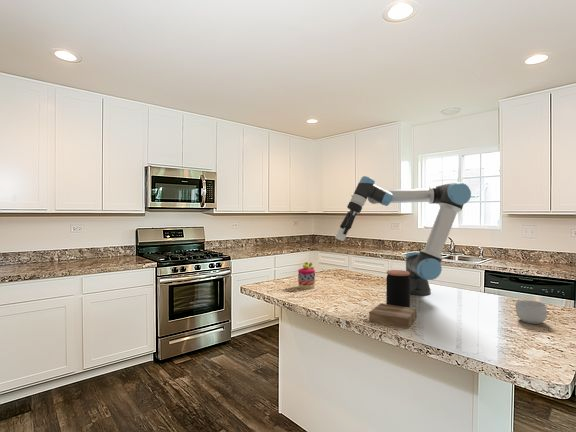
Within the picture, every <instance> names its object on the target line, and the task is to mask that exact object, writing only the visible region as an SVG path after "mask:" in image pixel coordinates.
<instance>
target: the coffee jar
mask: <svg viewBox="0 0 576 432" xmlns="http://www.w3.org/2000/svg"><path fill="white" fill-rule="evenodd" d="M386 274H387V275H386V293H385V294H386V303H385V304H388V305H395V306H402V307H408V308H411V294H410V277H409V275H410V272H408V271H406V270H402V269H401V270H400V269H390V270H389V269H388V270H386Z"/></svg>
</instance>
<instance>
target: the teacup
mask: <svg viewBox="0 0 576 432" xmlns="http://www.w3.org/2000/svg"><path fill="white" fill-rule="evenodd" d="M547 307H548V305H547V304H546V303H545V302H543V301H537V300H528V299H523V300H516V301H515V310H516V311H515V313H516V316H517V317H518V319H520V320H521V322H524V323H527V324H532V325H533V324H534V325H539V324H542V323H543V322H545V321H546V320H547V317H548V316H547V313H548V312H547V311H548V310H547Z"/></svg>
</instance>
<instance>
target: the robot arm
mask: <svg viewBox="0 0 576 432" xmlns="http://www.w3.org/2000/svg"><path fill="white" fill-rule="evenodd" d="M375 183H376V181H375V180H374V179H373V178H372V177H370V176H365V175H364V176H362V177H361V178H360V180H359V182H358V183H357V186H356V187H355V190H354V192H353V194H351V198H350V201H349V202H348V204H347V205H346V207H347V209H348V210H349V211H347V213H346V215H345V216H344V219H343V220H342V222H341V223H340V224H339V229H338V231H337V232H336V234H335V237H334V238H335V239H336V240H338V241H342V242H344V241H345V239H346V237H347V235H348V233H349V231H350V229H352V226H353V224H354V221H355V218H356V216H357V214H360V213H361V211H362V210H363V207H364V206H365V204H366V201H368V202H369V203H370V204H373V205H376V204H381V205H382V206H385V207H388V206H389V205H390V204H393V203H394V204H398V203H399V204H400V203H406V204H407V203H429V204H438V205H439V210H438V213H437V215H436V217H435V220H434V223H433V225H432V229H431V230H430V234H429V236H428V238H427V241H426V243H425V246H424V248H422V249H421V250H420V251H418V252H416V251H415V252H406V255H405V271H408V272H410V275H409V277H410V295H416V296H427V295H431V294H432V292H431V290H432V289H431V287H430V283H429V281H433V280H435V279H437V278H438V277H440V275H441V273H442V271H443V269H442V268H443V267H442V261H443V258H442V257H443V256H442V252H443V249H444V247H445V244H446V242H447V240H448V237H449V235H450V232H451V229H452V227H453V224H454V221H455V219H456V216H457V214H458V213H460V212H462V209H463V207H464V205H466V204H467V203H469V201H470V200H471V197H472V191H471V189H470V187H469V186H468V184H466V183H464V182H461V181H460V182H458V181H455V182H451V183H446V184H442V185H437V186H429V187H428V188H414V189H413V188H412V189H407V188H406V189H384V188H381V187H380V186H377V184H375Z"/></svg>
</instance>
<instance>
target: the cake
mask: <svg viewBox="0 0 576 432" xmlns="http://www.w3.org/2000/svg"><path fill="white" fill-rule="evenodd" d="M297 272H298V274H297V275H298V277H297V281H298V288H299V289H302V290H313V289H315V287H316V286H315V285H316V284H315V283H316V270H315V267H314V266H313V263H312V262H307V261H306V262H304V264H303V265H302V268H299V269H298V270H297Z"/></svg>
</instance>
